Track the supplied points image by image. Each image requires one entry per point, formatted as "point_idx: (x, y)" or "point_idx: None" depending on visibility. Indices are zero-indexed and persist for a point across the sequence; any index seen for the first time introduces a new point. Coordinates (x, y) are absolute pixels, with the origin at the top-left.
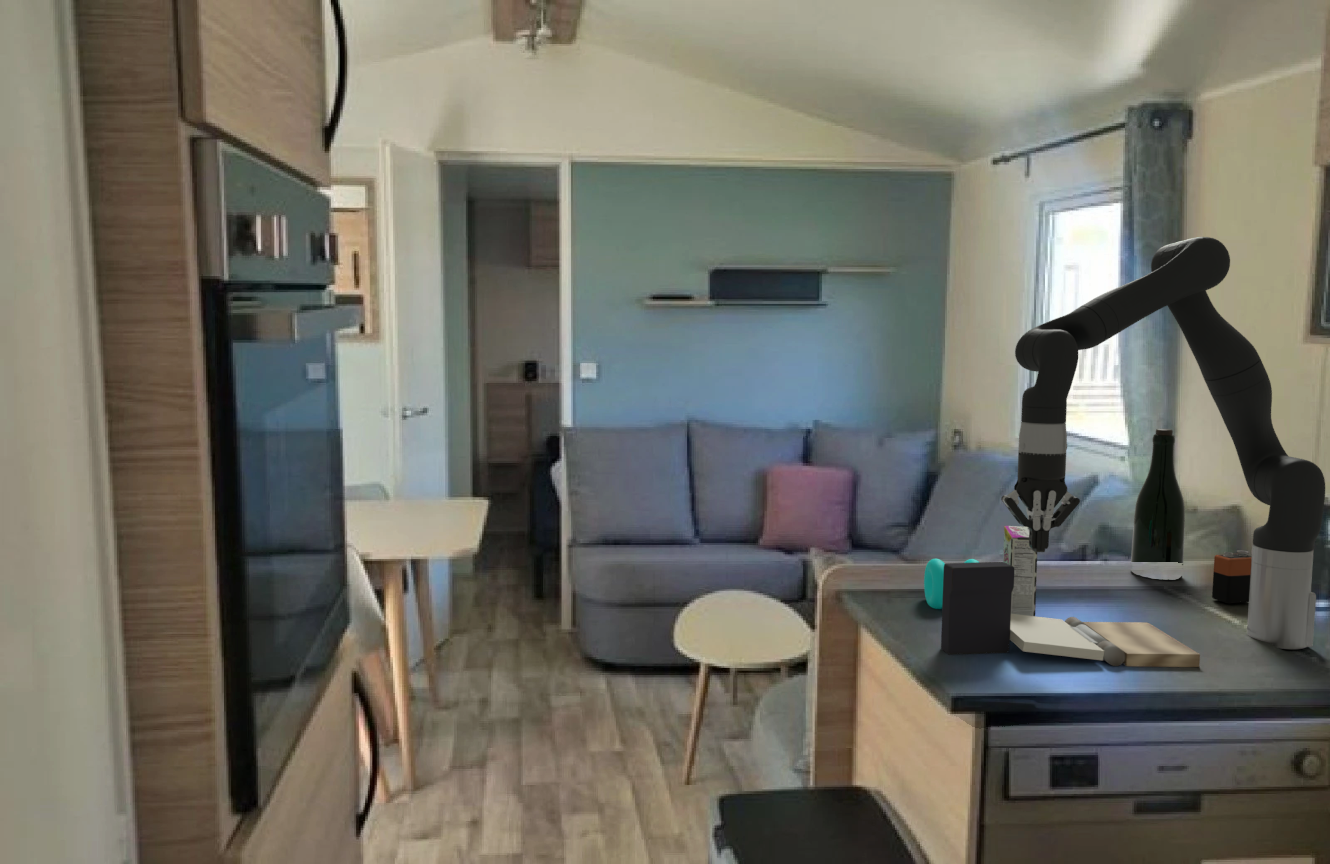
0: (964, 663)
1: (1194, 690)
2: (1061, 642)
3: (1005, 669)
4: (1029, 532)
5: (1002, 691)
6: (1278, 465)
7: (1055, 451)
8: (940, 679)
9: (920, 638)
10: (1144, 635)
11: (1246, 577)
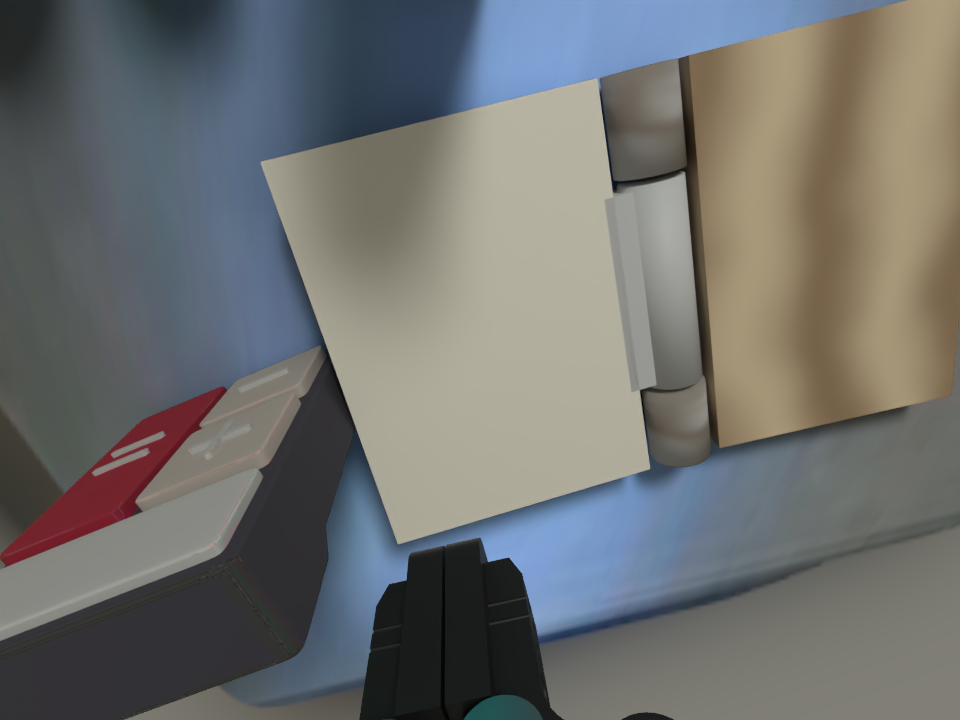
0: None
1: (802, 560)
2: (524, 467)
3: (352, 539)
4: (363, 714)
5: (345, 676)
6: None
7: None
8: None
9: (45, 314)
10: (873, 214)
11: None
